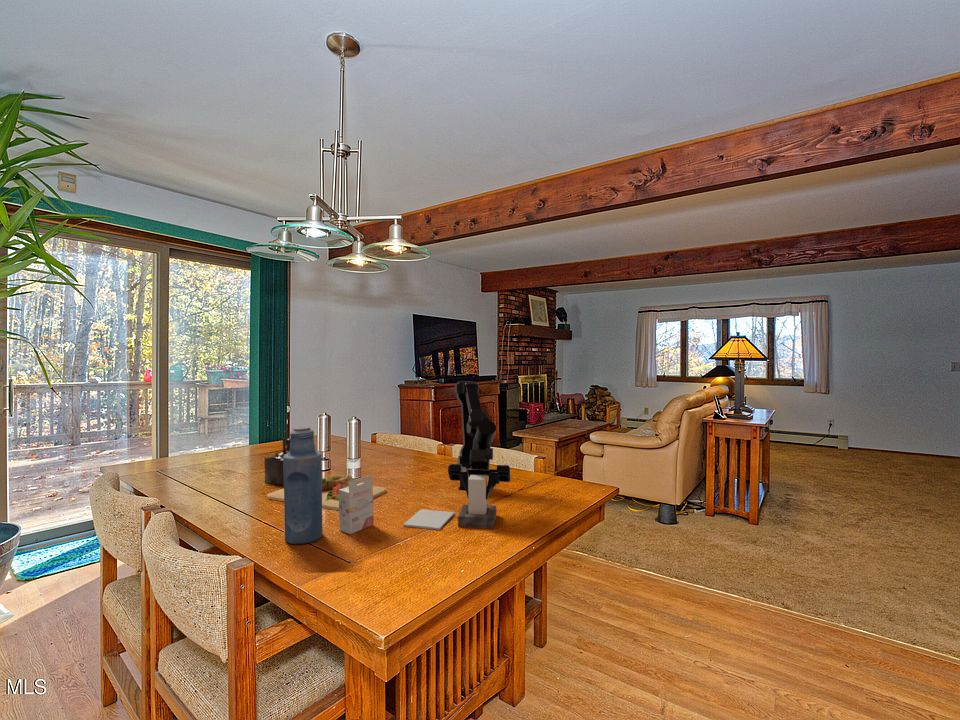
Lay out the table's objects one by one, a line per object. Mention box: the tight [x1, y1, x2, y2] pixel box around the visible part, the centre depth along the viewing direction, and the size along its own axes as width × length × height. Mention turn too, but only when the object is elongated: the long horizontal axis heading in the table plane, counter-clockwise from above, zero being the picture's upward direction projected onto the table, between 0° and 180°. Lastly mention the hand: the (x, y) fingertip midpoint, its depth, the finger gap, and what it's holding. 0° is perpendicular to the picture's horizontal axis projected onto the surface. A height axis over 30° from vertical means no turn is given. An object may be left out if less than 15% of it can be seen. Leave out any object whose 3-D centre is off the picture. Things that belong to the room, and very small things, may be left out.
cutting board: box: [266, 474, 387, 512], centre depth 163 cm, size 35×23×8 cm
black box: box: [264, 437, 291, 486], centre depth 179 cm, size 16×11×18 cm
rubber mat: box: [403, 508, 455, 531], centre depth 138 cm, size 11×13×1 cm
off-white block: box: [467, 475, 488, 515], centre depth 137 cm, size 5×5×13 cm
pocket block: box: [457, 504, 497, 529], centre depth 137 cm, size 10×10×3 cm
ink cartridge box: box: [338, 474, 374, 535], centre depth 132 cm, size 9×5×15 cm, turn 143°
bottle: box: [283, 426, 324, 546], centre depth 125 cm, size 10×10×30 cm
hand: (477, 498), depth 136 cm, fingers closed on off-white block, 5 cm apart
